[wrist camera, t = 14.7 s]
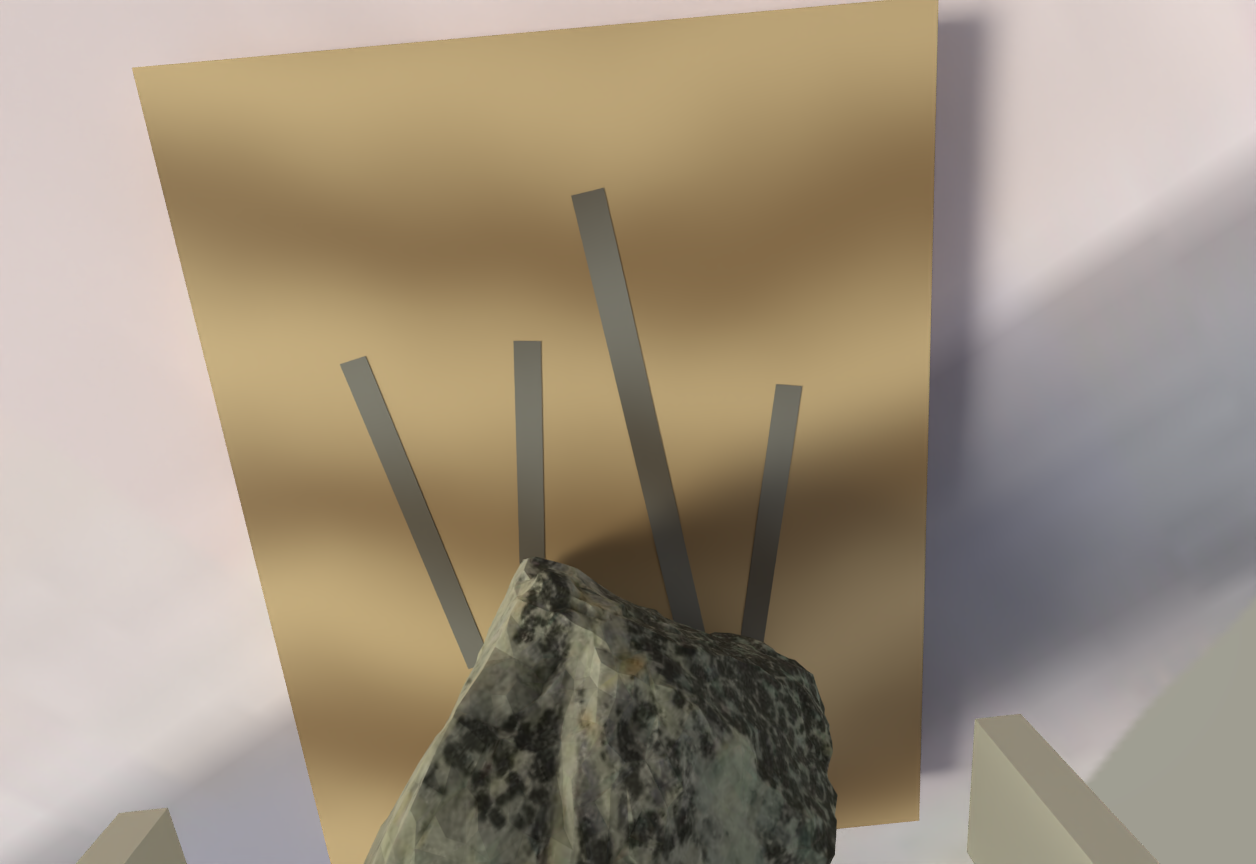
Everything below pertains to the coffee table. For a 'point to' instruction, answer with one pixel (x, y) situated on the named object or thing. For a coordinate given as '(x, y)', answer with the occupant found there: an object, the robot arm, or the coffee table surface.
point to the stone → (618, 744)
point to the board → (571, 356)
